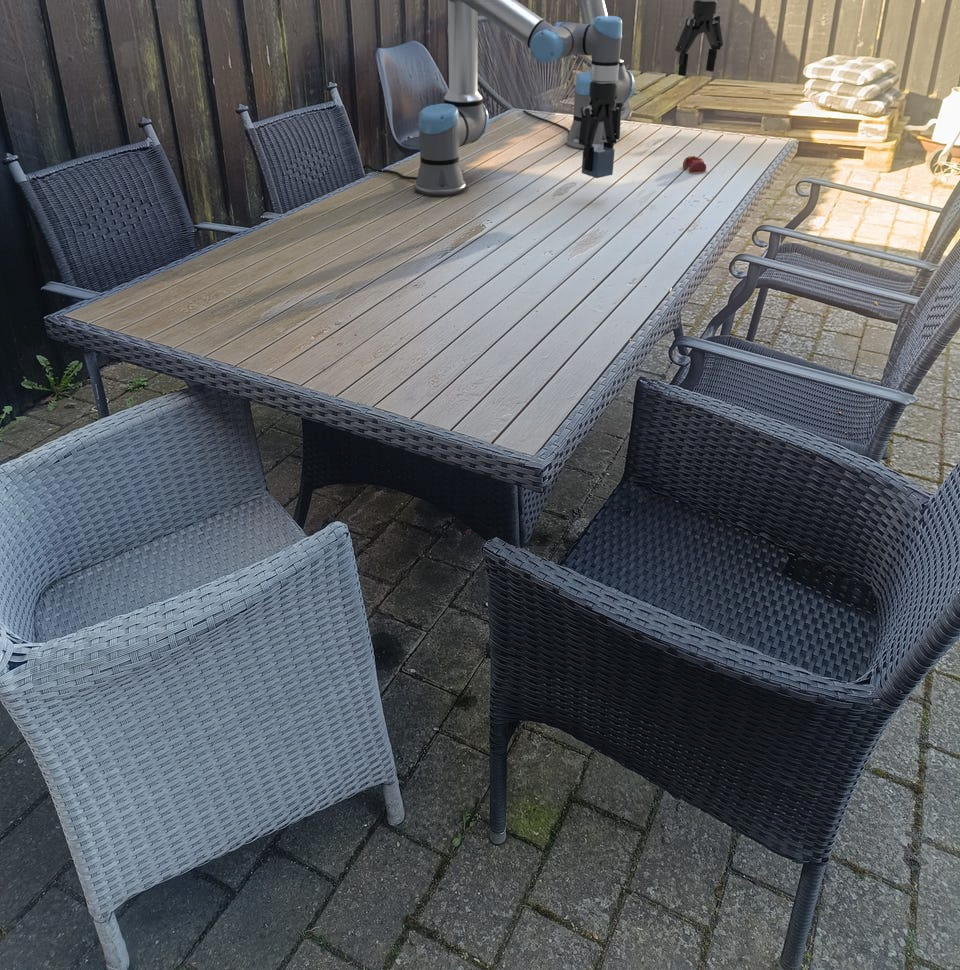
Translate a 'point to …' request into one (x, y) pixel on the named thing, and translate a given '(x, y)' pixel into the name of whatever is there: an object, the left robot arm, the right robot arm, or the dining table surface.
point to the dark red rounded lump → (694, 164)
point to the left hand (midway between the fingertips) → (597, 168)
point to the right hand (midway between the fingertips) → (695, 73)
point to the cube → (600, 162)
